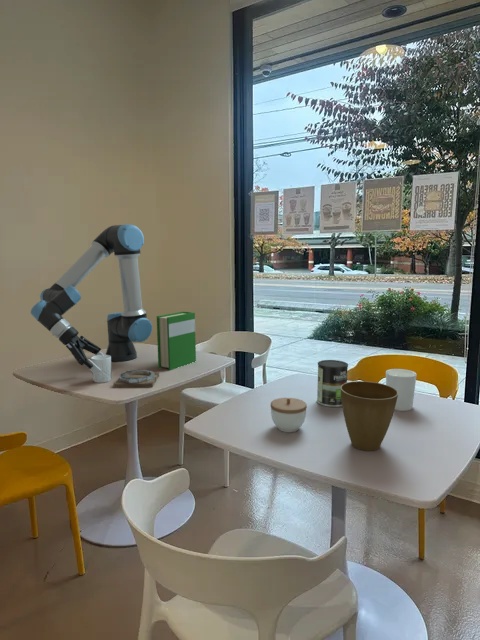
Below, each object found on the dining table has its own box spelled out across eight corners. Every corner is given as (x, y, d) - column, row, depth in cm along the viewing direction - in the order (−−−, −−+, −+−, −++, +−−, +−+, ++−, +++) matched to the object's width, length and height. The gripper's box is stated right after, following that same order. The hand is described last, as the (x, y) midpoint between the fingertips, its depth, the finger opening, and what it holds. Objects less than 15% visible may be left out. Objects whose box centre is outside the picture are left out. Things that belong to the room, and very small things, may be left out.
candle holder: (417, 405, 148) (419, 371, 146) (410, 414, 140) (412, 378, 138) (388, 399, 153) (390, 367, 151) (380, 408, 145) (382, 373, 143)
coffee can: (352, 403, 150) (354, 364, 148) (331, 409, 144) (332, 368, 142) (331, 395, 158) (332, 358, 156) (310, 400, 153) (311, 362, 151)
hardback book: (170, 370, 193) (168, 317, 189) (158, 367, 197) (156, 316, 193) (195, 361, 207) (194, 312, 203) (184, 359, 211) (183, 311, 207)
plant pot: (339, 455, 112) (341, 396, 109) (337, 432, 126) (339, 379, 124) (399, 460, 109) (403, 400, 107) (390, 435, 124) (393, 382, 121)
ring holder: (123, 376, 184) (123, 369, 183) (159, 376, 184) (158, 369, 183) (114, 387, 169) (113, 380, 168) (152, 387, 169) (152, 379, 168)
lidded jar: (313, 428, 129) (314, 398, 128) (290, 439, 122) (291, 407, 120) (285, 418, 137) (286, 390, 135) (263, 428, 130) (263, 398, 128)
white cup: (115, 377, 182) (113, 354, 180) (107, 383, 174) (106, 359, 172) (97, 377, 182) (95, 354, 181) (89, 383, 175) (87, 359, 173)
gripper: (70, 333, 187) (106, 366, 190) (45, 345, 163) (87, 383, 165) (82, 321, 186) (118, 354, 189) (58, 331, 162) (100, 370, 164)
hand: (104, 368), depth 177 cm, fingers open, 13 cm apart
